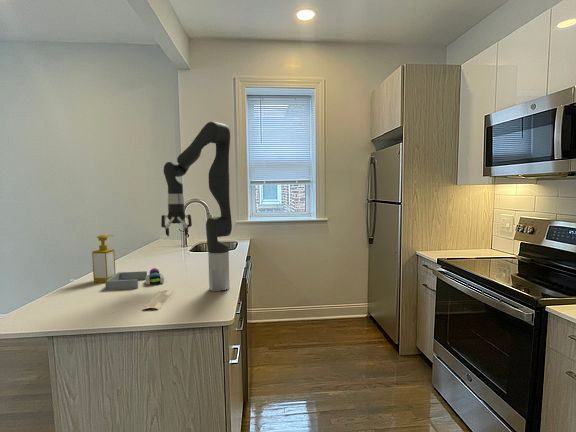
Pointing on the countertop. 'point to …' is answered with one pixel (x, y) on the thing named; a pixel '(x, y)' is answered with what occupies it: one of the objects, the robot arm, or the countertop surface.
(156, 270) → the rainbow striped dome
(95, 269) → the soap bottle
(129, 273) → the tray
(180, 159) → the robot arm
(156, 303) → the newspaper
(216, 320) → the countertop surface
